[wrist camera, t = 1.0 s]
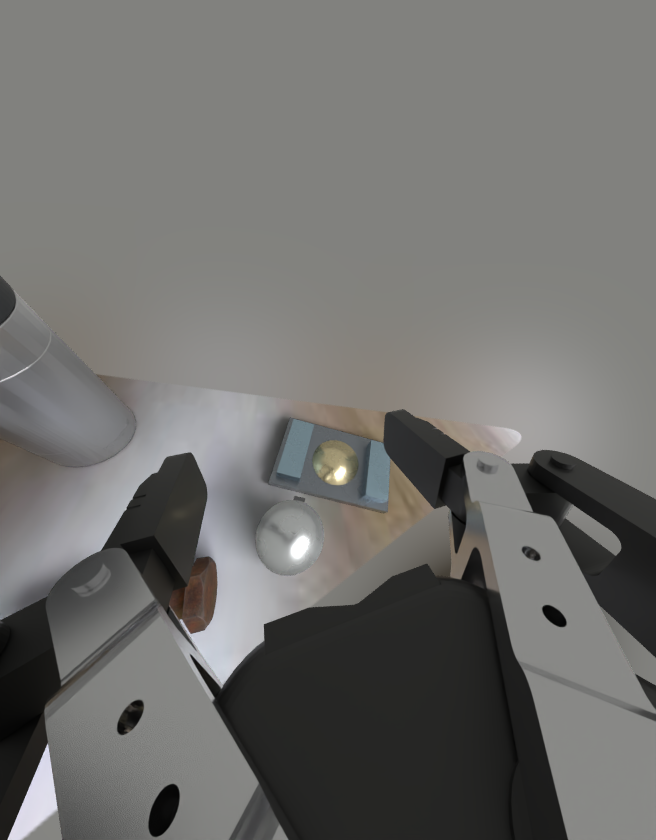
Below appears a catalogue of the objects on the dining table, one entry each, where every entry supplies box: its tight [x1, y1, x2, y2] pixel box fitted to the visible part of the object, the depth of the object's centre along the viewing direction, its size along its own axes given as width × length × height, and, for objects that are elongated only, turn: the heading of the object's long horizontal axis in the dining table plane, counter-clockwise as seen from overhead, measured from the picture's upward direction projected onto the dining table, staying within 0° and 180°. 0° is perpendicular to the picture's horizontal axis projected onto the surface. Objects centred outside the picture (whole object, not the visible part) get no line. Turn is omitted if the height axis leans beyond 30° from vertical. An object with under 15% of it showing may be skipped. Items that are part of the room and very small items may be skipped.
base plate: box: [269, 418, 390, 513], centre depth 33 cm, size 16×10×3 cm, turn 78°
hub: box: [256, 496, 324, 576], centre depth 24 cm, size 6×6×10 cm
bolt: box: [169, 557, 217, 634], centre depth 21 cm, size 6×5×15 cm
